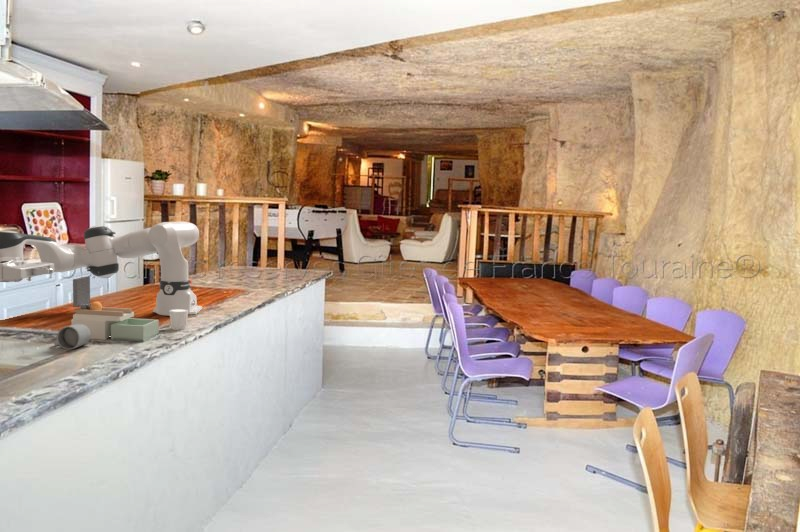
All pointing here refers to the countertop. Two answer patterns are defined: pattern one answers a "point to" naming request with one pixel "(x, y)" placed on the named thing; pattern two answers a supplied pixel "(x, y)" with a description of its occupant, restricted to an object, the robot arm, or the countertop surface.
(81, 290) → the gray upright panel
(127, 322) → the sage green tray
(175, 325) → the white tapered cup
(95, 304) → the ball
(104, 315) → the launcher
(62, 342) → the grey tipped cup
